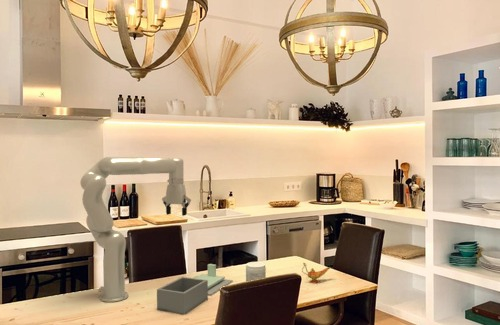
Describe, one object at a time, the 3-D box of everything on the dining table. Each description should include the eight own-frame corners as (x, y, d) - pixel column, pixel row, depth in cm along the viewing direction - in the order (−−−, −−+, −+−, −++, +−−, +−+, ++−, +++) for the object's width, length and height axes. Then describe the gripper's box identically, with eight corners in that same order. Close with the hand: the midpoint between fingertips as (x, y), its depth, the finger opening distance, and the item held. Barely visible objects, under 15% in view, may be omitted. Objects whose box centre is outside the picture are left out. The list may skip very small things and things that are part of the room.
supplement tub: (245, 291, 206) (244, 261, 206) (264, 290, 207) (264, 261, 206) (246, 298, 196) (246, 267, 196) (267, 297, 197) (266, 266, 197)
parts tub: (157, 309, 182) (156, 289, 182) (182, 295, 201) (182, 276, 200) (184, 314, 177) (184, 293, 176) (207, 299, 195) (207, 280, 195)
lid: (181, 288, 209) (181, 272, 209) (201, 277, 228) (201, 262, 227) (206, 291, 204) (206, 275, 203) (224, 280, 222) (224, 265, 222)
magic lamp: (334, 281, 221) (334, 260, 221) (305, 285, 215) (305, 264, 214) (327, 277, 228) (327, 257, 227) (298, 281, 221) (298, 261, 221)
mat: (172, 289, 209) (172, 288, 209) (197, 276, 231) (197, 275, 231) (211, 295, 200) (211, 294, 200) (233, 281, 222) (233, 280, 222)
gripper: (158, 182, 218) (158, 214, 219) (186, 182, 211) (186, 216, 212) (166, 181, 225) (166, 212, 226) (194, 182, 218) (194, 214, 219)
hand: (176, 214), depth 219 cm, fingers open, 9 cm apart
